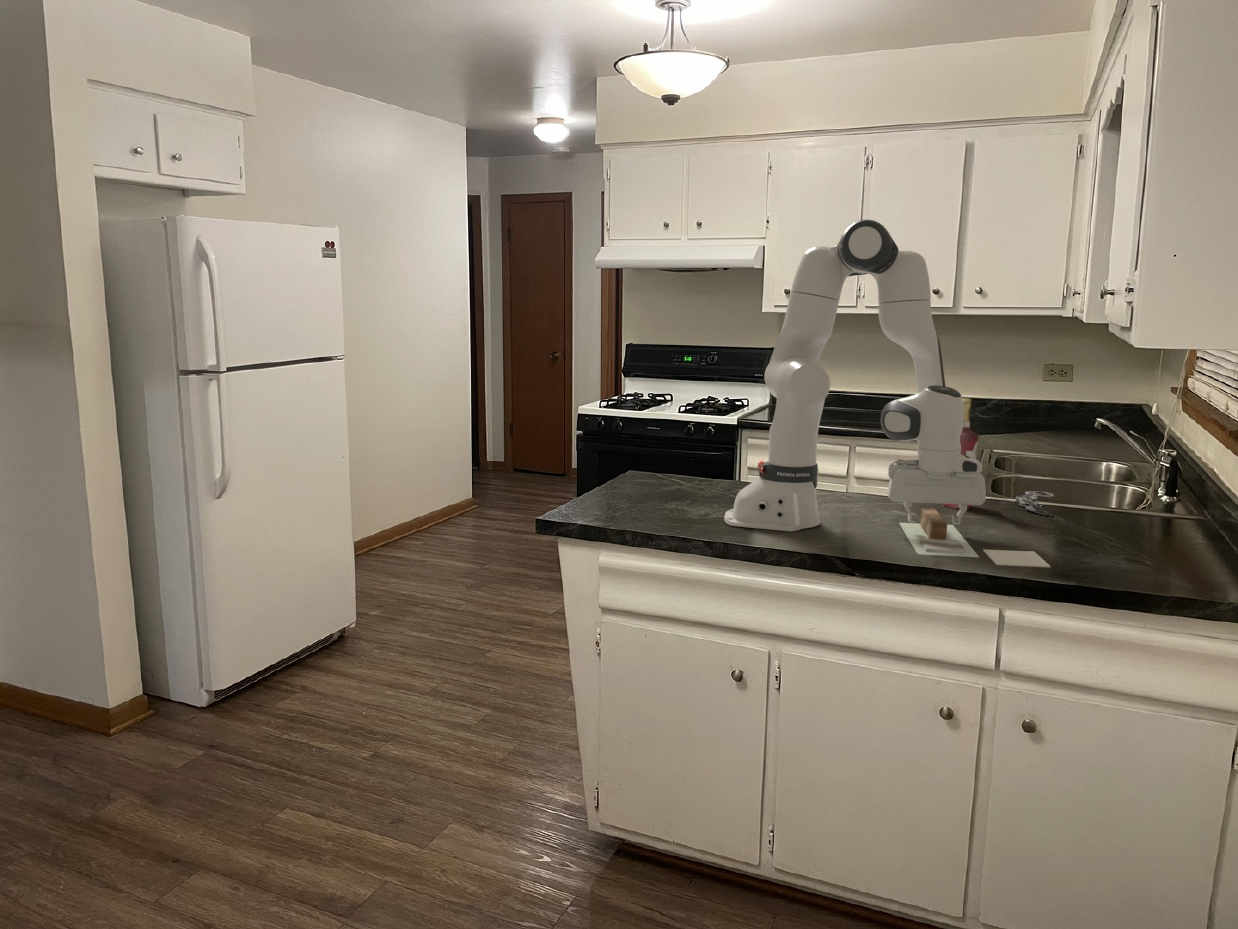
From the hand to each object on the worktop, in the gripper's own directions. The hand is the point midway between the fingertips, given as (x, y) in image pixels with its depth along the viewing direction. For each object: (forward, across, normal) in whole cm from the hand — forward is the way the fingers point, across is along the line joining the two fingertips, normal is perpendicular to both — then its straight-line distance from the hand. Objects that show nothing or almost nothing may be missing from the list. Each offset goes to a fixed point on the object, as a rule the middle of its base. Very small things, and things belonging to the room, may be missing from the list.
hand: (933, 522), depth 197 cm
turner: (+3, 0, -4) cm, 5 cm away
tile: (+3, +13, -12) cm, 18 cm away
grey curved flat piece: (+4, +33, +40) cm, 51 cm away
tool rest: (+4, 0, -4) cm, 5 cm away
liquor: (+4, +11, +29) cm, 31 cm away
